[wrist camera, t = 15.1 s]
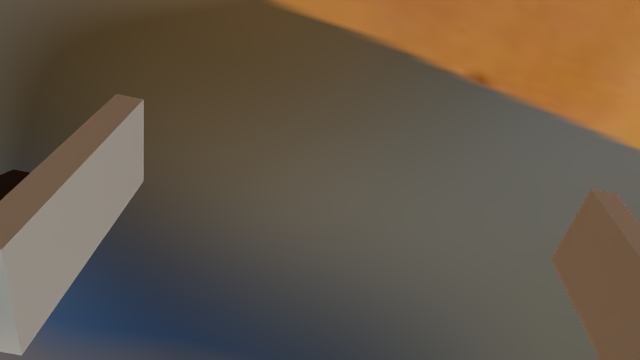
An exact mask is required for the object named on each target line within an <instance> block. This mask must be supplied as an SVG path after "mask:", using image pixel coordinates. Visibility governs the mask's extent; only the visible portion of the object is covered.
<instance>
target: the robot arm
mask: <svg viewBox="0 0 640 360" xmlns="http://www.w3.org/2000/svg"><path fill="white" fill-rule="evenodd" d="M143 105H144V100H143V99H139V98H133V97H129V96H123V95H119V94H116V95H115V96H114V97H113V98H112V99H111V100H110V101H108V102H107V103H106V105H104V106H103V107H102V108H101V109H100V110H99V111H98V112H96V113H95V114H94V115H93V116H92V117H91V118H90V119H89V120H88V121H87V122H86V123H84V124H83V125H82V126H81V127H80V128H79V129H78V130H77V131H76V132H75V133H74V134H72V135H71V136H70V137H69V138H68V139H67V140H66V141H65V142H64V143H63V144H62V145H60V146H59V147H58V148H57V149H56V150H55V151H54V152H53V153H52V154H51V155H50V156H48V157H47V158H46V159H45V160H44V161H43V162H42V163H41V164H40V165H39V166H38V167H37V168H35V169H34V170H33V171H32V172H31V173H29V172H23V171H18V170H11V171H9V172H6V173H4V174H2V175H0V352H6V353H12V354H17V355H22V354H23V353H24V351H25V350H26V348H27V347H28V345H29V344H30V342H31V341H32V339H33V338H34V337H35V335H36V334H37V332H38V331H39V330H40V328H41V327H42V325H43V324H44V322H45V321H46V320H47V318H48V317H49V315H50V314H51V312H52V311H53V310H54V308H55V307H56V305H57V304H58V302H59V301H60V300H61V298H62V297H63V295H64V294H65V292H66V291H67V290H68V288H69V287H70V285H71V284H72V282H73V281H74V279H75V278H76V277H77V275H78V274H79V272H80V271H81V270H82V268H83V267H84V265H85V264H86V262H87V261H88V259H89V258H90V256H91V255H92V254H93V252H94V251H95V249H96V248H97V247H98V245H99V244H100V242H101V241H102V239H103V238H104V237H105V235H106V234H107V232H108V231H109V229H110V228H111V227H112V225H113V224H114V222H115V221H116V219H117V218H118V216H119V215H120V214H121V212H122V211H123V209H124V208H125V206H126V205H127V204H128V202H129V201H130V199H131V198H132V197H133V195H134V194H135V192H136V191H137V189H138V188H139V186H140V185H141V184H142V182H143V139H144V136H143V135H144V133H143V129H144V127H143V126H144V125H143V124H144V123H143V121H144V117H143V116H144V109H143V108H144V106H143ZM551 261H552V263H553V265H554V267H555V269H556V271H557V273H558V275H559V277H560V279H561V281H562V283H563V285H564V287H565V289H566V292H567V293H568V296H569V298H570V300H571V302H572V304H573V306H574V308H575V309H576V312H577V314H578V316H579V318H580V320H581V322H582V324H583V326H584V328H585V330H586V332H587V334H588V336H589V339H590V340H591V343H592V345H593V347H594V349H595V350H596V353H597V355H598V357H599V359H600V360H640V224H639V222H638V221H637V220H636V219H635V217H634V216H633V215H632V214H631V212H630V211H629V210H628V208H627V207H626V206H625V205H624V203H623V202H622V201H621V200H620V198H619V197H618V196H617V195H616V194H614V193H609V192H604V191H599V190H594V189H590V191H589V193H588V195H587V197H586V198H585V200H584V202H583V204H582V205H581V207H580V209H579V211H578V212H577V214H576V216H575V218H574V220H573V221H572V223H571V225H570V227H569V229H568V230H567V232H566V234H565V236H564V237H563V239H562V241H561V243H560V244H559V246H558V248H557V250H556V252H555V253H554V255H553V257H552V259H551Z"/></svg>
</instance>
